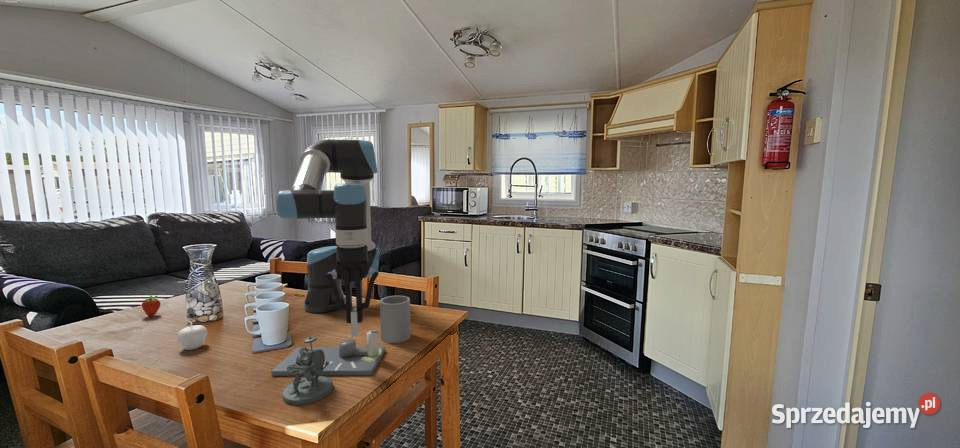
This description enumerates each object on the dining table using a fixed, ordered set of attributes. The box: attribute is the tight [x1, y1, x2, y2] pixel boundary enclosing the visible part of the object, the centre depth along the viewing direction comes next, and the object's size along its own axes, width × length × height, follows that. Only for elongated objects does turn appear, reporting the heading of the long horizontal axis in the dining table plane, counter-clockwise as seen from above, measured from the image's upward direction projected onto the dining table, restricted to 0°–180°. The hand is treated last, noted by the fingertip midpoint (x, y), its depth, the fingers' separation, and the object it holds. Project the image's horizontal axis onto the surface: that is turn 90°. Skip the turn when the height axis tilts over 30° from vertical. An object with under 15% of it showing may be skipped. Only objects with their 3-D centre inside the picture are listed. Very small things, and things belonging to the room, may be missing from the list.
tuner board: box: [270, 346, 386, 377], centre depth 102 cm, size 14×25×1 cm, turn 90°
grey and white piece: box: [338, 329, 379, 357], centre depth 103 cm, size 11×4×6 cm, turn 88°
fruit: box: [141, 294, 161, 317], centre depth 137 cm, size 5×5×8 cm
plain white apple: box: [177, 321, 208, 351], centre depth 111 cm, size 7×7×8 cm
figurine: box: [281, 335, 334, 406], centre depth 87 cm, size 11×11×12 cm
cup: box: [379, 295, 412, 344], centre depth 118 cm, size 9×9×12 cm
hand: (355, 334), depth 98 cm, fingers closed
